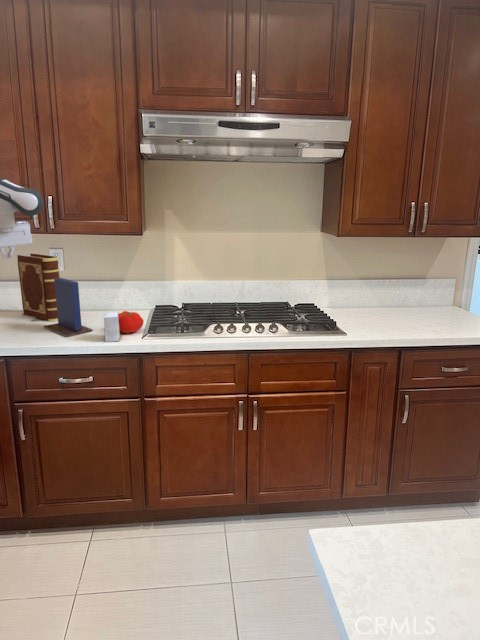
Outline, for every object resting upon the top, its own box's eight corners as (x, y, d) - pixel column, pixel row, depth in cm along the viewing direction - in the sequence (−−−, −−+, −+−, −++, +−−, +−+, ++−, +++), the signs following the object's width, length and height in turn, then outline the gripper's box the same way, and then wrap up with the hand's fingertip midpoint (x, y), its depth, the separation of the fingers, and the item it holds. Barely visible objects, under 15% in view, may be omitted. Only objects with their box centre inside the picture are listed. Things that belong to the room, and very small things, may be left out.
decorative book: (66, 319, 224) (60, 256, 216) (52, 322, 218) (45, 258, 210) (37, 312, 236) (31, 253, 228) (23, 315, 229) (16, 254, 221)
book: (75, 331, 201) (71, 283, 195) (58, 324, 210) (54, 278, 205) (81, 329, 203) (78, 282, 197) (64, 323, 212) (60, 277, 207)
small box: (119, 341, 191) (117, 316, 189) (105, 342, 190) (103, 317, 188) (120, 335, 199) (118, 312, 196) (106, 336, 198) (104, 312, 195)
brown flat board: (66, 337, 195) (66, 335, 195) (44, 328, 208) (43, 326, 208) (92, 332, 204) (92, 329, 204) (69, 323, 217) (68, 321, 217)
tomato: (146, 333, 202) (145, 314, 200) (117, 336, 198) (116, 317, 195) (140, 326, 214) (140, 308, 211) (113, 329, 209) (111, 310, 207)
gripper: (25, 219, 190) (30, 253, 194) (-29, 224, 175) (-23, 260, 180) (32, 221, 186) (37, 255, 190) (-23, 225, 171) (-17, 262, 176)
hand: (7, 257), depth 185 cm, fingers closed
